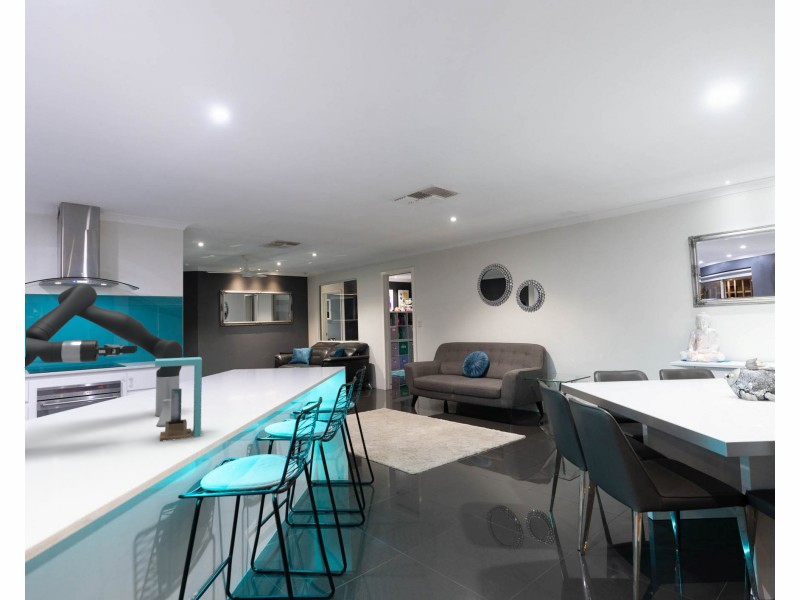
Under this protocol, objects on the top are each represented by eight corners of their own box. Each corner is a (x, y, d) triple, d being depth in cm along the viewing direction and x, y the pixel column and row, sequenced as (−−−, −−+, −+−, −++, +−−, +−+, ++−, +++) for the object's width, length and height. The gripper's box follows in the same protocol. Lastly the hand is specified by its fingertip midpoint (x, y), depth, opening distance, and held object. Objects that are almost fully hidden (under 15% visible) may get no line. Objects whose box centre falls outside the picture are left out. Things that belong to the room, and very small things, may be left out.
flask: (170, 427, 169) (171, 401, 170) (152, 427, 169) (153, 401, 170) (180, 422, 176) (180, 398, 177) (163, 422, 176) (163, 398, 177)
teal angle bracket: (154, 435, 157) (155, 358, 158) (199, 430, 164) (200, 357, 165) (153, 442, 148) (155, 361, 149) (200, 436, 155) (202, 359, 156)
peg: (170, 432, 156) (171, 388, 157) (180, 431, 158) (181, 388, 159) (170, 434, 153) (171, 390, 154) (180, 433, 155) (181, 389, 156)
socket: (160, 434, 158) (160, 420, 158) (190, 431, 163) (190, 417, 163) (159, 441, 149) (160, 426, 149) (191, 437, 154) (191, 423, 154)
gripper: (76, 340, 139) (135, 339, 147) (84, 339, 152) (137, 338, 159) (76, 364, 139) (134, 361, 146) (83, 360, 151) (137, 358, 159)
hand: (136, 349), depth 153 cm, fingers open, 8 cm apart
